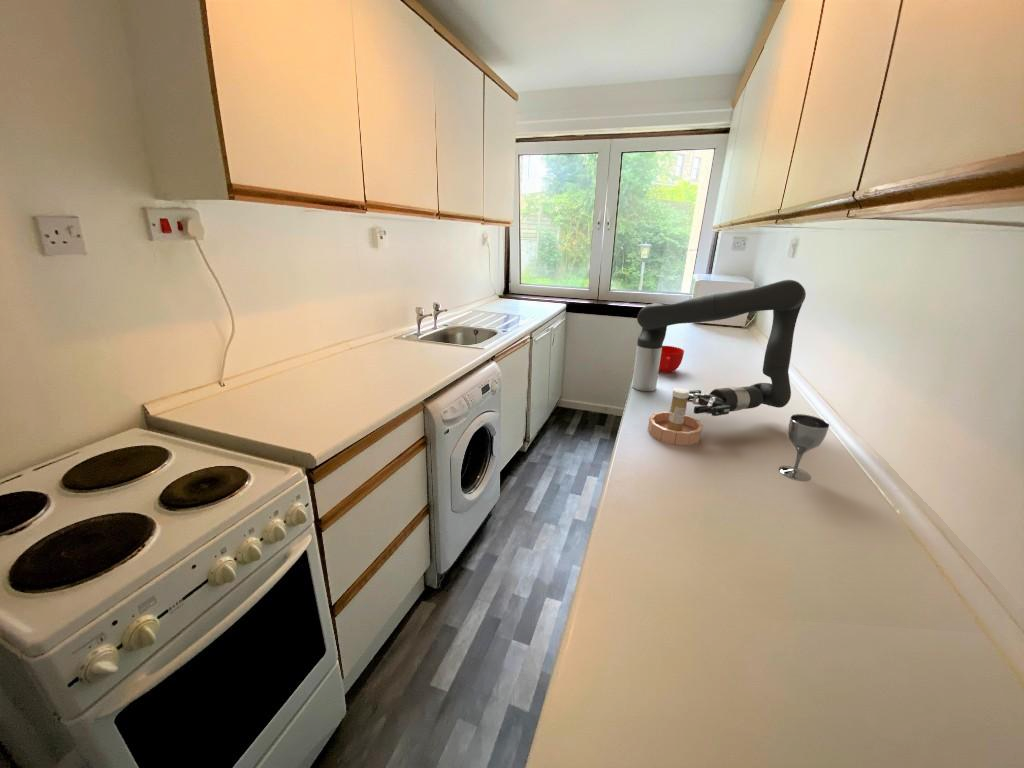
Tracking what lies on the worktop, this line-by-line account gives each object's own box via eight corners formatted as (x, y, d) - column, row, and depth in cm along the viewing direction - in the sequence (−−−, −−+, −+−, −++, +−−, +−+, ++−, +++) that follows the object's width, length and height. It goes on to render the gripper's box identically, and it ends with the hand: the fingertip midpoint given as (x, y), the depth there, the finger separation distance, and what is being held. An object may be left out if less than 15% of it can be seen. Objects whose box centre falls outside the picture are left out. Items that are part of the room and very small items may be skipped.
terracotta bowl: (643, 422, 136) (645, 410, 134) (690, 423, 135) (692, 412, 133) (655, 444, 122) (657, 431, 120) (707, 446, 121) (710, 434, 119)
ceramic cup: (649, 376, 178) (652, 354, 175) (650, 365, 194) (653, 344, 190) (681, 380, 175) (685, 357, 171) (679, 368, 190) (683, 347, 186)
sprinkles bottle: (666, 426, 131) (672, 386, 126) (681, 428, 129) (688, 388, 125) (667, 432, 126) (673, 391, 122) (682, 434, 125) (690, 393, 121)
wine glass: (795, 483, 103) (811, 429, 98) (769, 467, 111) (783, 415, 105) (820, 479, 105) (837, 426, 100) (793, 463, 113) (807, 412, 107)
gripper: (715, 380, 135) (672, 385, 131) (749, 396, 122) (703, 402, 118) (711, 402, 137) (668, 406, 133) (744, 419, 125) (699, 425, 120)
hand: (685, 404), depth 126 cm, fingers open, 8 cm apart
